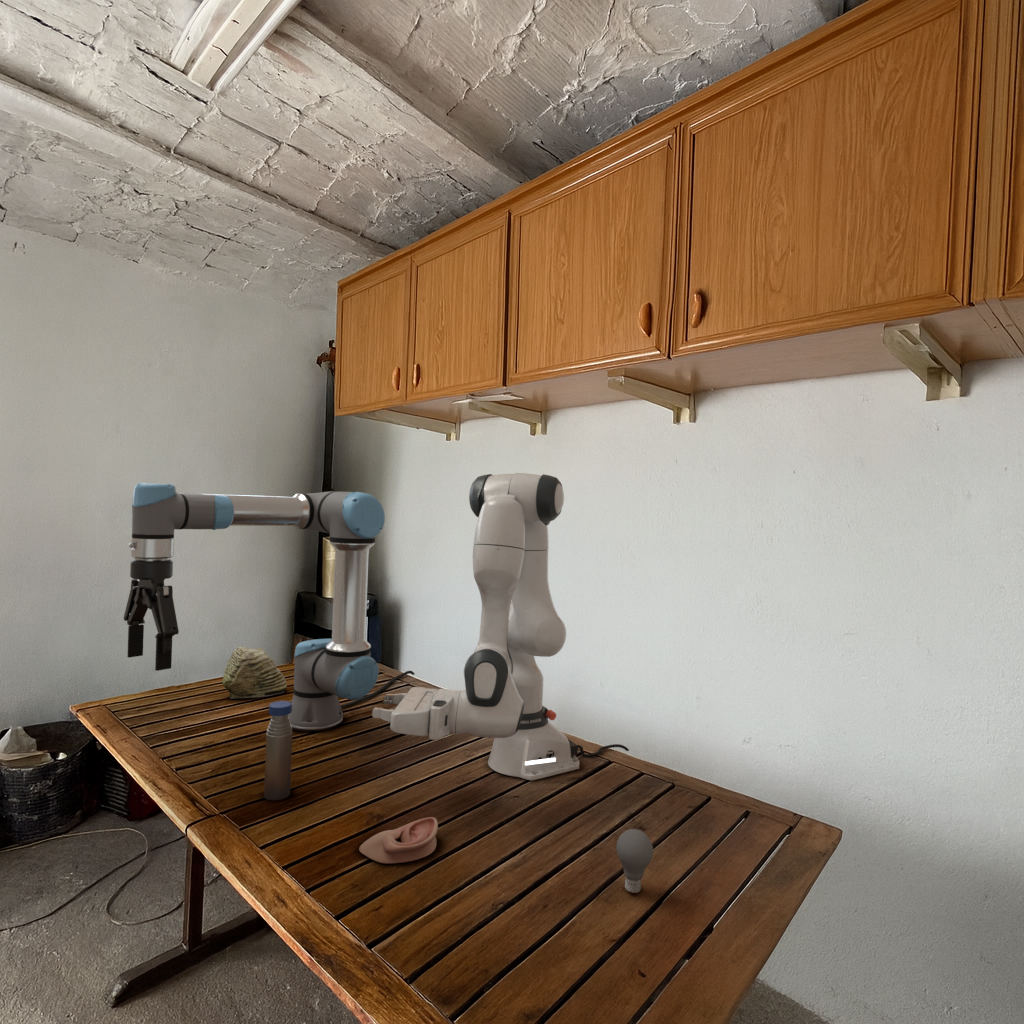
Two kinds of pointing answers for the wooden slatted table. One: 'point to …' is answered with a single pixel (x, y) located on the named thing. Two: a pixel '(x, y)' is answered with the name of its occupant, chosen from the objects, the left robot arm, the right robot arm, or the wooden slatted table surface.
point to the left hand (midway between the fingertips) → (148, 662)
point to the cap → (280, 708)
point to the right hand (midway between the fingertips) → (379, 705)
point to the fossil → (252, 674)
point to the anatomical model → (403, 842)
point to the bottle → (278, 758)
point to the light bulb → (634, 857)
